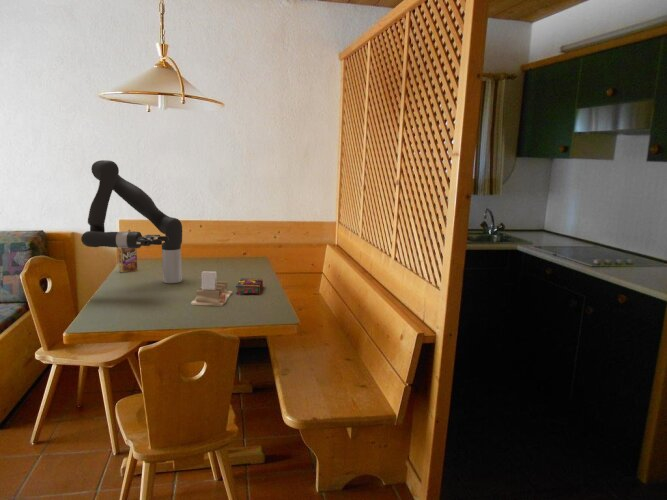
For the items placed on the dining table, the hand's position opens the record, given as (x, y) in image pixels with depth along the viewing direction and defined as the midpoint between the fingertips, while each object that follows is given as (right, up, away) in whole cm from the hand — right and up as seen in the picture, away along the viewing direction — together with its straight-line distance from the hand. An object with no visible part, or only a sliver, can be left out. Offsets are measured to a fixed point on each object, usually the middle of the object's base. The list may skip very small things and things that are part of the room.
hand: (165, 240), depth 232 cm
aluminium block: (+20, -27, +1) cm, 33 cm away
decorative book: (+35, -25, +22) cm, 48 cm away
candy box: (-38, -16, +54) cm, 68 cm away
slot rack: (+20, -27, +6) cm, 34 cm away
